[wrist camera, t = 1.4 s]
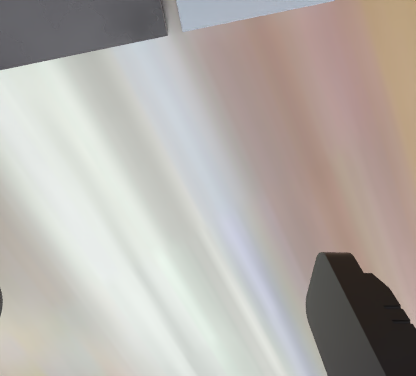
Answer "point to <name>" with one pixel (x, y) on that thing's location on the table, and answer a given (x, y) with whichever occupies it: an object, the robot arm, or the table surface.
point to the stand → (232, 10)
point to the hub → (73, 27)
